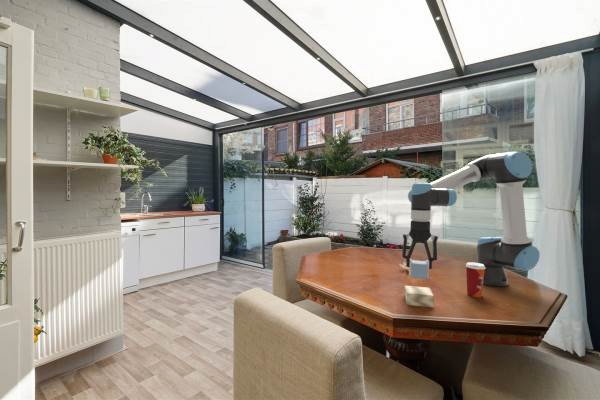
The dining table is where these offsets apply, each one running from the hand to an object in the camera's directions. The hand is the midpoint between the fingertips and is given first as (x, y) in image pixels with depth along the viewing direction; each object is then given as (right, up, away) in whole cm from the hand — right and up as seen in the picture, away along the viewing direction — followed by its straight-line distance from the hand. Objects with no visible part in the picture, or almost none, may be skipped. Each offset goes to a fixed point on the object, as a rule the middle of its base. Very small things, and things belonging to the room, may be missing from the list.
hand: (418, 275), depth 124 cm
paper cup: (+28, -11, +9) cm, 32 cm away
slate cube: (0, 0, 0) cm, 0 cm away
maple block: (0, -11, 0) cm, 11 cm away
